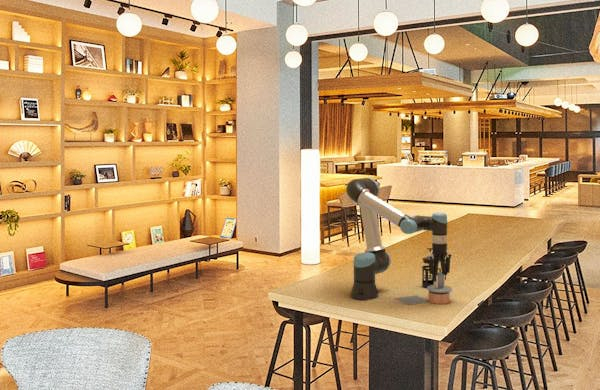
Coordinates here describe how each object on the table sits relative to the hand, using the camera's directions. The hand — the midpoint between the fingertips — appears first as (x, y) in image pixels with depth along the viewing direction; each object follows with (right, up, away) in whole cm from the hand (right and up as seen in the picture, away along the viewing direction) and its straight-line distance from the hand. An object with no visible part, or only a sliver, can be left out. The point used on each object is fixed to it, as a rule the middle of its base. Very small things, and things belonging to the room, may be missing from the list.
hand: (439, 286), depth 293 cm
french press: (+3, -6, +30) cm, 31 cm away
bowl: (0, -8, +1) cm, 8 cm away
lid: (0, -2, 0) cm, 1 cm away
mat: (-14, -8, +3) cm, 16 cm away
